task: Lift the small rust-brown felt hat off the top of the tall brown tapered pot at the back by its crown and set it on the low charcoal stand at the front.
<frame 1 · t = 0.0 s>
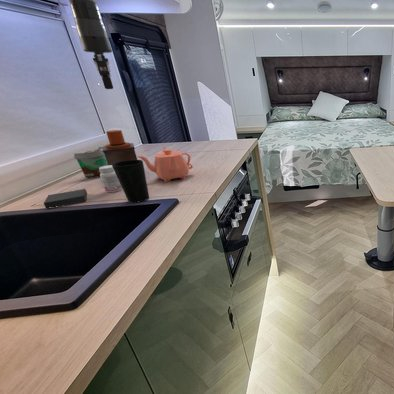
hand: (109, 88, 101), 33 cm above the worktop, tool pointing down, fingers open, 8 cm apart
cup: (139, 199, 93), on the worktop
pill bottle: (114, 190, 100), on the worktop
food container: (103, 174, 117), on the worktop
hat: (118, 146, 110), point 12 cm above the worktop, touching brown tapered pot
brown tapered pot: (128, 176, 114), on the worktop
teapot: (170, 178, 112), on the worktop
stand: (68, 201, 91), on the worktop
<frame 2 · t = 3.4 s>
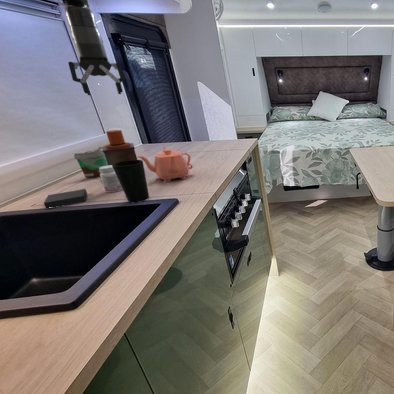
hand: (104, 94, 102), 31 cm above the worktop, tool pointing down, fingers open, 8 cm apart
nothing on the worktop moved.
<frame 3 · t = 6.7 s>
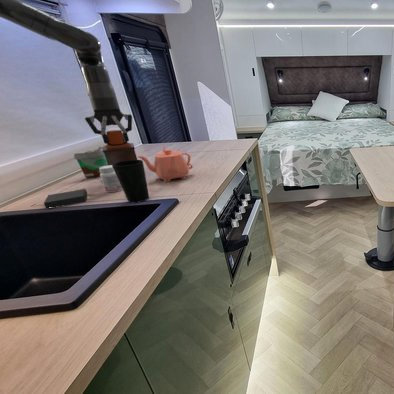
hand: (117, 143, 109), 13 cm above the worktop, tool pointing down, fingers closed on hat, 4 cm apart
hat: (118, 146, 110), point 12 cm above the worktop, touching gripper, brown tapered pot
everything else where it was.
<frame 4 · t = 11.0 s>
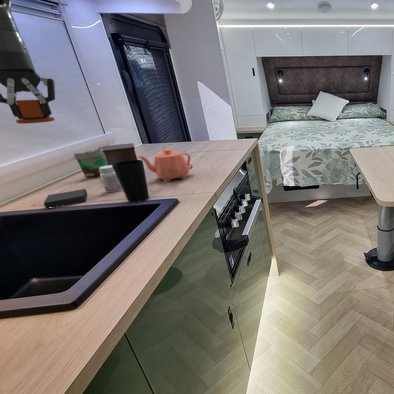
hand: (34, 117, 82), 26 cm above the worktop, tool pointing down, fingers closed on hat, 4 cm apart
hat: (36, 121, 82), point 25 cm above the worktop, touching gripper
everything else where it was.
when the fingers open (3 cm above the worktop, at t = 15.6 s): hat stays where it is, resting on stand.
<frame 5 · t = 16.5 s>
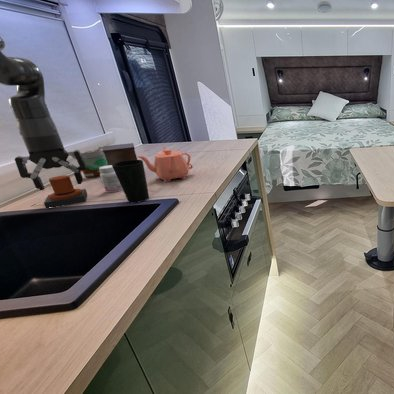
hand: (61, 186, 89), 5 cm above the worktop, tool pointing down, fingers open, 8 cm apart
hat: (66, 195, 91), point 2 cm above the worktop, touching stand
everything else where it was.
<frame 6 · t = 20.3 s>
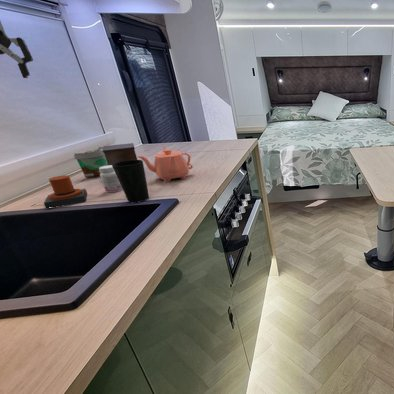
hand: (4, 78, 81), 36 cm above the worktop, tool pointing down, fingers open, 8 cm apart
nothing on the worktop moved.
at the end: hat 0.1 cm off-centre on the stand, point 2.0 cm above the stand's base; hat tilted 0°; the gripper is holding nothing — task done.
